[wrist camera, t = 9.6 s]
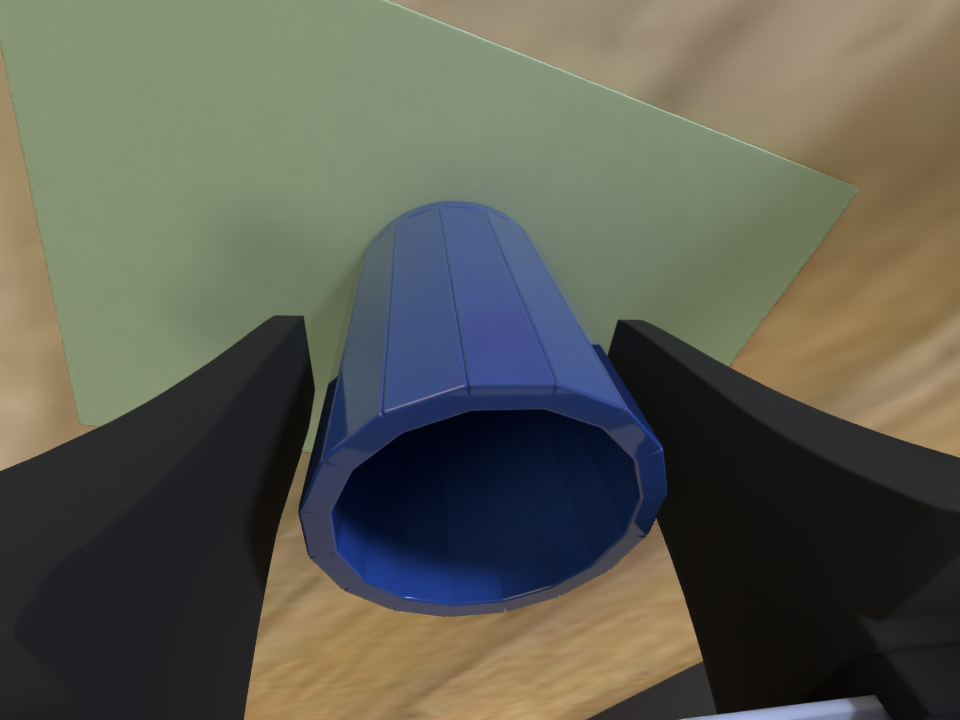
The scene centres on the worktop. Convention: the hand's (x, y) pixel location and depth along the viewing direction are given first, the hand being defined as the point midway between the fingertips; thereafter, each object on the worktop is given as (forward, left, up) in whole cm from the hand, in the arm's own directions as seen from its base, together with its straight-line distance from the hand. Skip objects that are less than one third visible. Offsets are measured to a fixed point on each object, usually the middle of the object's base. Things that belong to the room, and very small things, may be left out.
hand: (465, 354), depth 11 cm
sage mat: (0, +1, -3) cm, 3 cm away
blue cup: (0, 0, -3) cm, 3 cm away
